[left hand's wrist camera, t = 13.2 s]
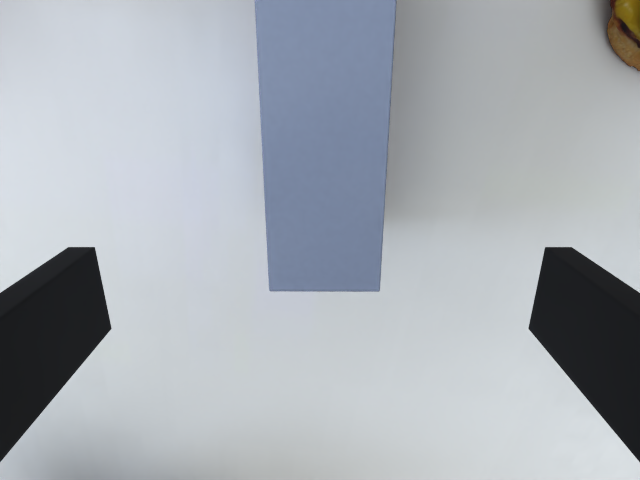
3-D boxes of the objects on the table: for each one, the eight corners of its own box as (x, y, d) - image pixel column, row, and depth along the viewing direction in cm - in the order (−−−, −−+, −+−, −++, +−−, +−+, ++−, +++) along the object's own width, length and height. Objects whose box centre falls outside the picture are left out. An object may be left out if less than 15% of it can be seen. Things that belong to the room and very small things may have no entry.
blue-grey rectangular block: (278, -43, 25) (248, -120, 15) (371, -43, 25) (403, -120, 15) (286, 222, 31) (269, 291, 21) (361, 222, 30) (380, 292, 21)
